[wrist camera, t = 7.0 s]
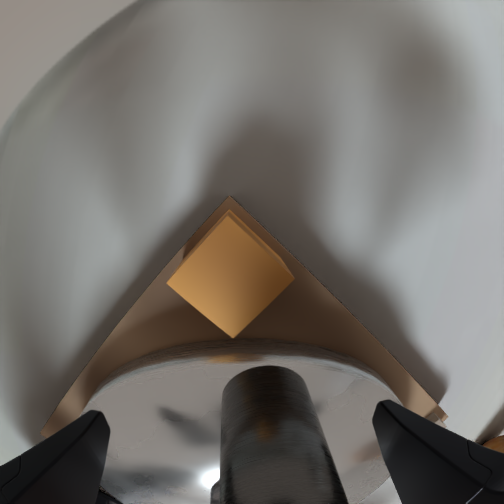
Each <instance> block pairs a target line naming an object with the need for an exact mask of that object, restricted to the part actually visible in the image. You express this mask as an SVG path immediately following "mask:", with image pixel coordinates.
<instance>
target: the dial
mask: <svg viewBox="0 0 504 504" xmlns="http://www.w3.org/2000/svg"><path fill="white" fill-rule="evenodd" d="M387 399H390V400H392V401H394V402H396V403H398V404H400V405H401V406H403V404H402V403H401V402H400V400H399V399H398V398H397V396H396V395H395V393H394V392H393V391H392V389H391V388H390V387H389V385H388V384H387V383H386V382H385V381H384V380H383V378H382V377H381V376H380V375H379V374H378V373H377V372H376V371H374V370H373V369H371V368H370V367H369V366H367V365H366V364H365V363H363V362H361V361H359V360H357V359H355V358H353V357H351V356H349V355H347V354H344V353H341V352H338V351H335V350H332V349H329V348H326V347H323V346H317V345H312V344H307V343H302V342H297V341H288V340H277V339H267V338H230V339H218V340H205V341H198V342H193V343H187V344H181V345H175V346H171V347H168V348H164V349H161V350H157V351H154V352H150V353H148V354H145V355H143V356H141V357H138V358H136V359H134V360H131V361H129V362H127V363H126V364H124V365H122V366H121V367H119V368H118V369H116V370H115V371H113V372H112V373H111V374H109V375H108V376H107V377H106V378H105V379H104V380H103V381H102V382H101V383H100V384H99V386H98V387H97V389H96V390H95V392H94V393H93V395H92V396H91V398H90V400H89V401H88V403H87V405H86V407H85V408H84V410H83V412H82V413H81V415H80V416H82V415H83V414H85V413H86V412H88V411H89V410H98V411H102V412H103V414H104V416H105V418H106V420H107V422H108V424H109V426H110V430H111V433H110V439H109V444H108V450H107V456H106V462H105V468H104V472H103V475H102V479H101V483H100V486H101V487H103V488H104V489H105V490H106V491H107V492H108V493H109V494H111V495H112V496H113V497H115V498H116V499H117V500H119V501H120V502H122V503H124V504H356V503H358V502H360V501H361V500H363V499H364V498H366V497H367V496H368V495H370V494H371V493H372V492H374V491H375V490H376V489H377V488H378V487H379V486H381V485H382V484H383V483H384V482H385V481H386V480H387V479H388V478H389V477H390V474H389V471H388V469H387V467H386V465H385V462H384V460H383V457H382V454H381V451H380V447H379V444H378V440H377V437H376V434H375V431H374V427H373V424H372V417H373V414H374V411H375V408H376V405H377V403H378V402H379V401H383V400H387ZM403 407H404V406H403Z"/></svg>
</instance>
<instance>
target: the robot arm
mask: <svg viewBox="0 0 504 504" xmlns="http://www.w3.org/2000/svg"><path fill="white" fill-rule="evenodd" d="M372 424H373V427H374V431H375V434H376V437H377V440H378V444H379V447H380V451H381V454H382V457H383V460H384V462H385V465H386V467H387V469H388V471H389V474H390V476H391V478H392V481H393V483H394V485H395V488H396V490H397V492H398V495H399V497H400V500H401V502H402V504H504V453H502V452H499V451H496V450H493V449H490V448H487V447H484V446H482V445H480V444H477V443H475V442H473V441H471V440H467V439H466V438H464V437H462V436H460V435H458V434H456V433H454V432H452V431H450V430H448V429H446V428H444V427H442V426H440V425H438V424H436V423H434V422H432V421H430V420H428V419H426V418H424V417H422V416H420V415H418V414H416V413H414V412H413V411H411V410H409V409H407V408H405V407H403V406H401V405H400V404H398V403H396V402H394V401H392V400H390V399H387V400H383V401H379V402H378V403H377V405H376V408H375V411H374V414H373V417H372ZM110 433H111V430H110V426H109V424H108V422H107V420H106V418H105V416H104V414H103V412H102V411H98V410H89V411H88V412H86V413H85V414H83V415H82V416H80V417H79V418H77V419H76V420H74V421H73V422H71V423H70V424H68V425H67V426H65V427H64V428H62V429H61V430H59V431H57V432H56V433H54V434H53V435H51V436H50V437H48V438H47V439H45V440H43V441H42V442H40V443H39V444H37V445H36V446H34V447H32V448H31V449H29V450H27V451H26V452H24V453H23V454H21V455H19V456H18V457H16V458H14V459H13V460H11V461H9V462H7V463H5V464H4V465H2V466H0V504H123V503H121V502H119V501H117V500H115V499H113V498H111V497H109V496H107V495H106V494H104V493H102V492H100V491H98V490H99V486H100V483H101V479H102V475H103V472H104V468H105V462H106V456H107V450H108V444H109V439H110Z"/></svg>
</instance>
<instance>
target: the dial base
mask: <svg viewBox="0 0 504 504" xmlns="http://www.w3.org/2000/svg"><path fill="white" fill-rule="evenodd" d="M230 338H267V339H277V340H288V341H297V342H302V343H307V344H312V345H317V346H323V347H326V348H329V349H332V350H335V351H338V352H341V353H344V354H347V355H349V356H351V357H353V358H355V359H357V360H359V361H361V362H363V363H365V364H366V365H367V366H369V367H370V368H371V369H373V370H374V371H376V372H377V373H378V374H379V375H380V376H381V377H382V378H383V380H384V381H385V382H386V383H387V384H388V385H389V387H390V388H391V389H392V391H393V392H394V393H395V395H396V396H397V398H398V399H399V400H400V402H401V403H402V404H403V406H404V407H405V408H407V409H409V410H411V411H413V412H414V413H416V414H418V415H420V416H422V417H424V418H426V419H428V420H430V421H432V422H434V423H436V424H438V425H440V426H442V427H444V428H446V427H447V426H446V425H445V424H444V423H443V421H444V420H445V419H446V418H447V417H448V416H447V414H446V413H445V412H444V411H443V410H442V409H441V407H440V406H439V405H438V404H437V403H436V402H435V401H434V400H433V398H432V397H431V396H430V395H429V394H428V393H427V392H426V391H425V390H424V389H423V388H422V387H421V385H420V384H419V383H418V382H417V381H416V380H415V379H414V378H413V377H412V376H411V375H410V374H409V373H408V372H407V371H406V369H405V368H404V367H403V366H402V365H401V364H400V363H399V362H398V361H397V360H396V359H395V358H394V357H393V356H392V355H391V354H390V353H389V352H388V351H387V349H386V348H385V347H384V346H383V345H382V344H381V343H380V342H379V341H378V340H377V339H376V338H375V337H374V336H373V335H372V334H371V333H370V332H369V331H368V330H367V329H366V328H365V327H364V326H363V325H362V324H361V323H360V322H359V321H358V320H357V319H356V318H355V317H354V316H353V315H352V314H351V312H350V311H349V310H348V309H347V308H346V307H345V306H344V305H343V304H342V303H341V302H340V301H339V300H338V299H337V298H336V297H335V296H334V295H333V294H332V293H331V292H330V291H329V290H328V289H327V288H326V287H325V286H324V285H323V284H322V283H321V282H320V281H319V280H318V279H317V278H315V277H314V276H313V275H312V274H311V273H310V272H309V271H308V270H307V269H306V268H305V267H304V266H303V265H302V264H301V263H300V262H299V261H298V260H297V259H296V258H295V257H294V256H293V255H292V254H291V253H290V252H289V251H288V250H287V249H286V248H285V247H284V246H283V245H282V244H281V243H280V242H279V241H278V240H276V239H275V238H274V237H273V236H272V235H271V234H270V233H269V232H268V231H267V230H266V229H265V228H264V227H263V226H262V225H261V224H260V223H259V222H258V221H257V220H256V219H254V218H253V217H252V216H251V215H250V214H249V213H248V212H247V211H246V210H245V209H244V208H243V207H242V206H241V205H240V204H239V203H237V202H236V201H235V200H234V199H233V198H232V197H231V196H230V195H229V196H228V197H227V199H226V200H225V201H224V202H223V203H222V204H221V205H220V206H219V207H218V208H217V209H216V210H215V211H214V212H213V214H212V215H211V216H210V217H209V218H208V219H207V220H206V221H205V222H204V223H203V224H202V226H201V227H200V228H199V229H198V230H197V231H196V232H195V233H194V234H193V235H192V237H191V238H190V239H189V240H188V241H187V242H186V243H185V244H184V246H183V247H182V248H181V249H180V250H179V251H178V252H177V254H176V255H175V256H174V257H173V258H172V259H171V260H170V262H169V263H168V264H167V265H166V266H165V267H164V269H163V270H162V271H161V272H160V273H159V274H158V276H157V277H156V278H155V279H154V280H153V282H152V283H151V284H150V285H149V286H148V288H147V289H146V290H145V291H144V292H143V294H142V295H141V296H140V297H139V298H138V300H137V301H136V302H135V303H134V305H133V306H132V307H131V308H130V309H129V311H128V312H127V313H126V314H125V316H124V317H123V318H122V319H121V321H120V322H119V323H118V325H117V326H116V327H115V328H114V330H113V331H112V332H111V333H110V335H109V336H108V337H107V339H106V340H105V341H104V343H103V344H102V345H101V347H100V348H99V349H98V350H97V352H96V353H95V354H94V356H93V357H92V358H91V360H90V361H89V363H88V364H87V365H86V367H85V368H84V369H83V371H82V372H81V373H80V375H79V376H78V378H77V379H76V380H75V382H74V383H73V385H72V386H71V387H70V389H69V390H68V392H67V393H66V395H65V396H64V397H63V399H62V400H61V402H60V403H59V405H58V406H57V408H56V409H55V411H54V412H53V414H52V415H51V417H50V418H49V420H48V421H47V423H46V424H45V426H44V427H43V429H42V430H41V432H40V434H41V435H43V436H44V437H45V438H46V439H47V438H48V437H50V436H51V435H53V434H54V433H56V432H57V431H59V430H61V429H62V428H64V427H65V426H67V425H68V424H70V423H71V422H73V421H74V420H76V419H77V418H79V417H80V415H81V413H82V412H83V410H84V408H85V407H86V405H87V403H88V401H89V400H90V398H91V396H92V395H93V393H94V392H95V390H96V389H97V387H98V386H99V384H100V383H101V382H102V381H103V380H104V379H105V378H106V377H107V376H108V375H109V374H111V373H112V372H113V371H115V370H116V369H118V368H119V367H121V366H122V365H124V364H126V363H127V362H129V361H131V360H134V359H136V358H138V357H141V356H143V355H145V354H148V353H150V352H154V351H157V350H161V349H164V348H168V347H171V346H175V345H181V344H187V343H193V342H198V341H205V340H218V339H230Z"/></svg>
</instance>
